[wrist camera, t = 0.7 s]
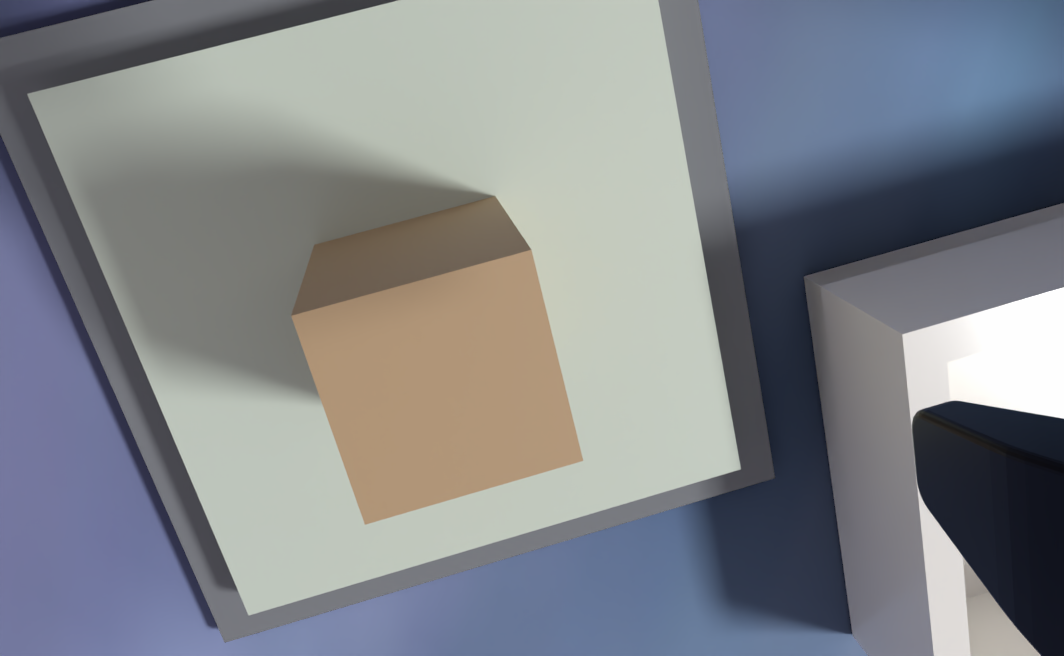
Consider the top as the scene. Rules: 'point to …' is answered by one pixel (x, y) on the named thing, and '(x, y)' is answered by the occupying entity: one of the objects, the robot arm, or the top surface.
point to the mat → (5, 109)
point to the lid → (406, 277)
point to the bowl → (920, 382)
